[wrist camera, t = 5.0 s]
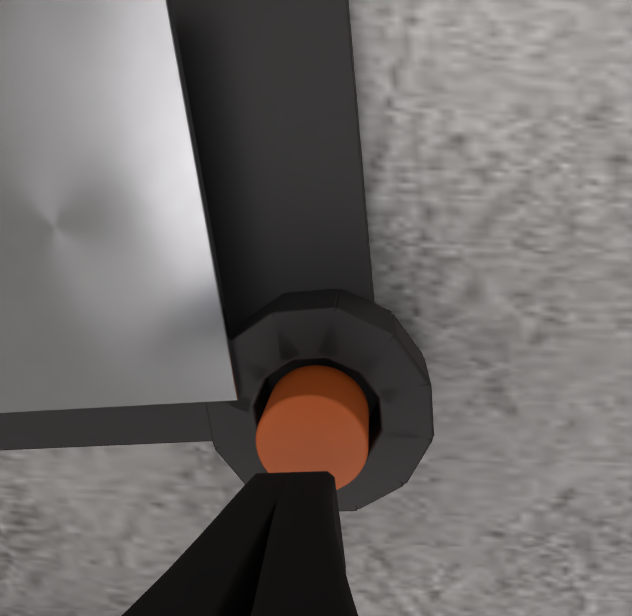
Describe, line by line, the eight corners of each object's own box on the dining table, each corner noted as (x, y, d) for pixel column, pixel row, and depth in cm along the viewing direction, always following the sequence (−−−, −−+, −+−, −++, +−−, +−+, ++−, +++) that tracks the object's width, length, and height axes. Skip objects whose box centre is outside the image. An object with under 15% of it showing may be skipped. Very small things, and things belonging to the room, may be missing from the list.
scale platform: (167, -28, 9) (159, -34, 9) (241, 394, 11) (238, 400, 11) (-143, 28, 10) (-158, 24, 10) (-12, 409, 12) (-21, 415, 12)
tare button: (364, 361, 11) (363, 391, 10) (372, 451, 12) (373, 493, 10) (262, 367, 12) (246, 398, 10) (276, 455, 12) (263, 496, 11)
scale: (391, -144, 10) (398, -236, 8) (426, 450, 14) (438, 509, 12) (-188, -26, 12) (-325, -70, 10) (-12, 467, 16) (-77, 521, 14)
